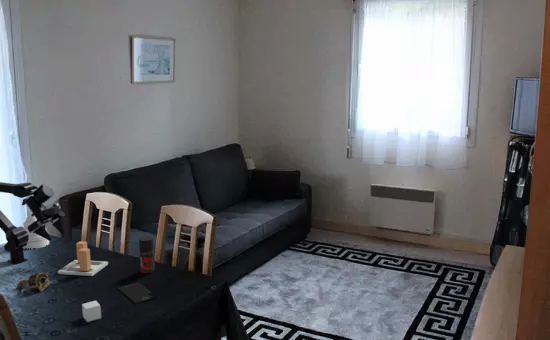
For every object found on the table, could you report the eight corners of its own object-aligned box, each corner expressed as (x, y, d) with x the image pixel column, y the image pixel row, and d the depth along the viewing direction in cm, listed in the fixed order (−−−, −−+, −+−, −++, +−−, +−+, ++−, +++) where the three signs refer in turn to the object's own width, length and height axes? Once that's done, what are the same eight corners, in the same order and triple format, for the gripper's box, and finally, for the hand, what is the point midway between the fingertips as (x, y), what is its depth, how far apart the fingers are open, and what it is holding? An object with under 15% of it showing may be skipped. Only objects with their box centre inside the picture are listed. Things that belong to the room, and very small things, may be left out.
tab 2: (80, 270, 233) (78, 250, 231) (83, 268, 236) (82, 248, 234) (87, 271, 232) (85, 251, 230) (91, 268, 235) (89, 248, 233)
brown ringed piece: (28, 284, 209) (51, 271, 216) (10, 274, 216) (33, 262, 224) (33, 299, 212) (55, 286, 219) (15, 289, 219) (37, 276, 227)
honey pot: (54, 243, 274) (51, 208, 271) (31, 250, 264) (28, 214, 260) (39, 239, 281) (35, 205, 278) (16, 246, 270) (12, 211, 267)
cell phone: (135, 305, 203) (135, 302, 203) (117, 289, 217) (117, 287, 217) (157, 298, 208) (157, 296, 208) (138, 284, 223) (138, 282, 222)
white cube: (96, 313, 196) (95, 300, 195) (101, 318, 192) (100, 305, 191) (82, 317, 193) (81, 304, 192) (87, 322, 189) (86, 308, 188)
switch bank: (58, 273, 234) (57, 270, 233) (75, 262, 247) (75, 259, 247) (92, 276, 231) (92, 273, 231) (108, 264, 244) (107, 261, 244)
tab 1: (77, 262, 242) (76, 243, 240) (81, 260, 245) (79, 241, 243) (84, 263, 241) (83, 243, 240) (88, 260, 244) (86, 241, 243)
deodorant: (138, 272, 234) (135, 239, 231) (147, 268, 239) (145, 235, 236) (148, 275, 231) (146, 241, 228) (157, 270, 236) (155, 237, 234)
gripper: (34, 204, 229) (55, 234, 230) (62, 193, 247) (82, 222, 247) (18, 217, 233) (38, 247, 233) (47, 206, 251) (66, 234, 251)
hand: (57, 237), depth 241 cm, fingers open, 9 cm apart
